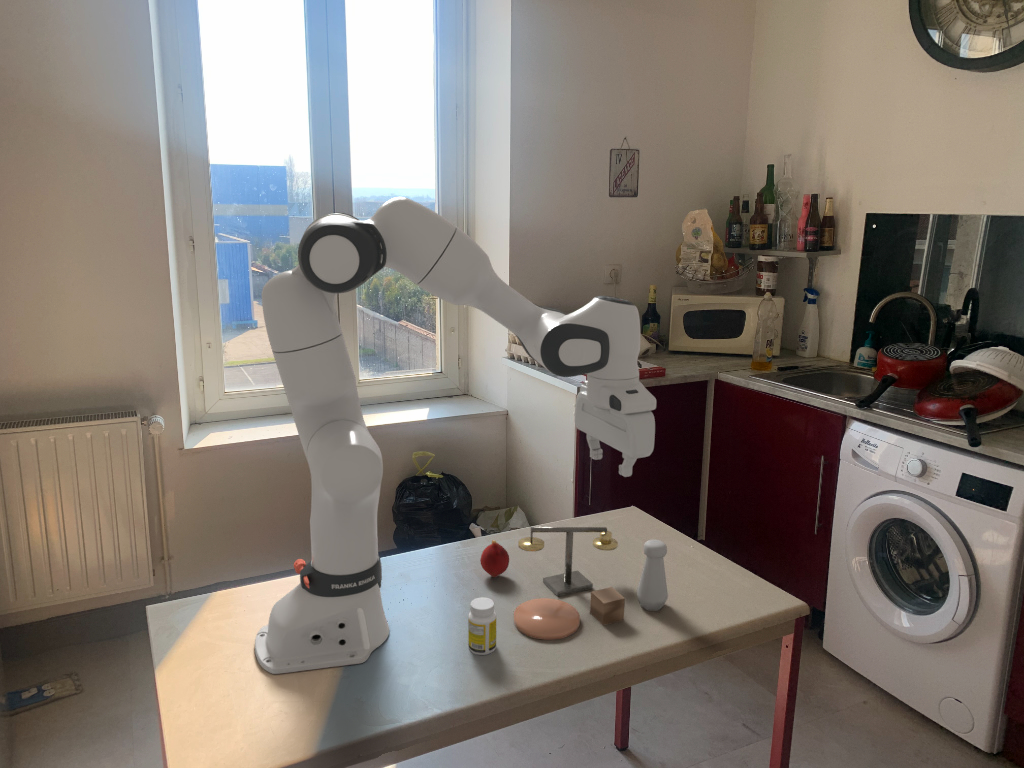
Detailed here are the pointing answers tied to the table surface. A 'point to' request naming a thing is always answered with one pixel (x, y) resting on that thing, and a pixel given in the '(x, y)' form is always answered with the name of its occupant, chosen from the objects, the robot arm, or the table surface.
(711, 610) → the table surface
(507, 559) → the onion
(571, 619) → the dish
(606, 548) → the balance
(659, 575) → the salt shaker
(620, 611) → the block
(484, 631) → the supplement bottle
